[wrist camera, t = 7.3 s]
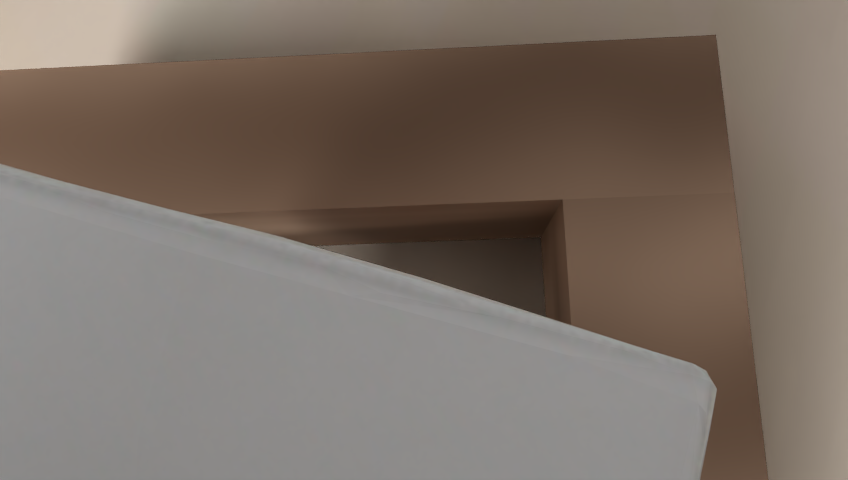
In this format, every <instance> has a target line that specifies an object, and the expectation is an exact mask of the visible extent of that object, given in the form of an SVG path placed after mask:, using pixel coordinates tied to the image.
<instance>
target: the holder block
mask: <svg viewBox="0 0 848 480" xmlns="http://www.w3.org/2000/svg"><path fill="white" fill-rule="evenodd" d="M0 164H3V165H6V166H10V167H13V168H17V169H21V170H24V171H28V172H31V173H35V174H38V175H42V176H45V177H49V178H53V179H56V180H60V181H63V182H67V183H71V184H75V185H78V186H82V187H86V188H90V189H94V190H98V191H101V192H105V193H109V194H113V195H117V196H120V197H124V198H128V199H132V200H136V201H140V202H143V203H147V204H151V205H155V206H159V207H163V208H166V209H170V210H175V211H179V212H183V213H187V214H191V215H195V216H199V217H203V218H207V219H211V220H215V221H219V222H223V223H228V224H232V225H236V226H240V227H244V228H248V229H252V230H256V231H260V232H264V233H268V234H272V235H276V236H280V237H283V238H287V239H290V240H293V241H297V242H300V243H304V244H307V245H311V246H319V245H345V244H372V243H398V242H425V241H452V240H478V239H505V238H531V237H541V247H542V263H543V279H544V296H545V312H546V317H547V318H550V319H553V320H556V321H559V322H563V323H566V324H569V325H572V326H575V327H578V328H581V329H584V330H588V331H591V332H594V333H597V334H600V335H603V336H606V337H609V338H612V339H616V340H619V341H622V342H625V343H628V344H631V345H634V346H637V347H641V348H644V349H647V350H650V351H653V352H657V353H660V354H663V355H667V356H670V357H673V358H676V359H680V360H683V361H686V362H690V363H693V364H695V365H697V366H699V367H700V368H702V369H704V370H706V371H707V373H708V375H709V377H710V378H711V380H712V382H713V383H714V385H715V387H716V388H717V392H716V398H715V403H714V409H713V415H712V420H711V426H710V432H709V437H708V442H707V447H706V452H705V457H704V462H703V467H702V472H701V477H700V480H768V474H767V465H766V457H765V448H764V440H763V431H762V423H761V414H760V406H759V397H758V389H757V380H756V372H755V363H754V355H753V346H752V338H751V329H750V321H749V312H748V304H747V295H746V287H745V278H744V270H743V261H742V253H741V244H740V236H739V227H738V219H737V210H736V202H735V193H734V185H733V176H732V168H731V159H730V151H729V142H728V134H727V125H726V117H725V108H724V100H723V91H722V83H721V74H720V66H719V57H718V49H717V40H716V35H706V36H685V37H665V38H645V39H625V40H605V41H585V42H564V43H544V44H524V45H504V46H484V47H464V48H443V49H423V50H403V51H383V52H363V53H343V54H322V55H302V56H282V57H262V58H242V59H222V60H201V61H181V62H161V63H141V64H121V65H101V66H80V67H60V68H40V69H20V70H0Z"/></svg>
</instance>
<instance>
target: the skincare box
mask: <svg viewBox="0 0 848 480" xmlns="http://www.w3.org/2000/svg"><path fill="white" fill-rule="evenodd" d="M716 392H717V388H716V387H715V385H714V383H713V382H712V380H711V378H710V377H709V375H708V373H707V371H706V370H704V369H702V368H700V367H699V366H697V365H695V364H693V363H690V362H686V361H683V360H680V359H676V358H673V357H670V356H667V355H663V354H660V353H657V352H653V351H650V350H647V349H644V348H641V347H637V346H634V345H631V344H628V343H625V342H622V341H619V340H616V339H612V338H609V337H606V336H603V335H600V334H597V333H594V332H591V331H588V330H584V329H581V328H578V327H575V326H572V325H569V324H566V323H563V322H559V321H556V320H553V319H550V318H547V317H544V316H541V315H538V314H535V313H531V312H528V311H525V310H522V309H519V308H516V307H513V306H509V305H506V304H503V303H500V302H497V301H494V300H491V299H487V298H484V297H481V296H478V295H475V294H472V293H469V292H465V291H462V290H459V289H456V288H453V287H450V286H446V285H443V284H440V283H437V282H434V281H431V280H428V279H424V278H421V277H418V276H414V275H411V274H407V273H404V272H401V271H397V270H394V269H390V268H387V267H383V266H380V265H376V264H373V263H369V262H366V261H363V260H359V259H356V258H352V257H349V256H345V255H342V254H338V253H335V252H331V251H328V250H325V249H321V248H318V247H314V246H311V245H307V244H304V243H300V242H297V241H293V240H290V239H287V238H283V237H280V236H276V235H272V234H268V233H264V232H260V231H256V230H252V229H248V228H244V227H240V226H236V225H232V224H228V223H223V222H219V221H215V220H211V219H207V218H203V217H199V216H195V215H191V214H187V213H183V212H179V211H175V210H170V209H166V208H163V207H159V206H155V205H151V204H147V203H143V202H140V201H136V200H132V199H128V198H124V197H120V196H117V195H113V194H109V193H105V192H101V191H98V190H94V189H90V188H86V187H82V186H78V185H75V184H71V183H67V182H63V181H60V180H56V179H53V178H49V177H45V176H42V175H38V174H35V173H31V172H28V171H24V170H21V169H17V168H13V167H10V166H6V165H3V164H0V480H700V477H701V472H702V467H703V462H704V457H705V452H706V447H707V442H708V437H709V432H710V426H711V420H712V415H713V409H714V403H715V398H716Z"/></svg>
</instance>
